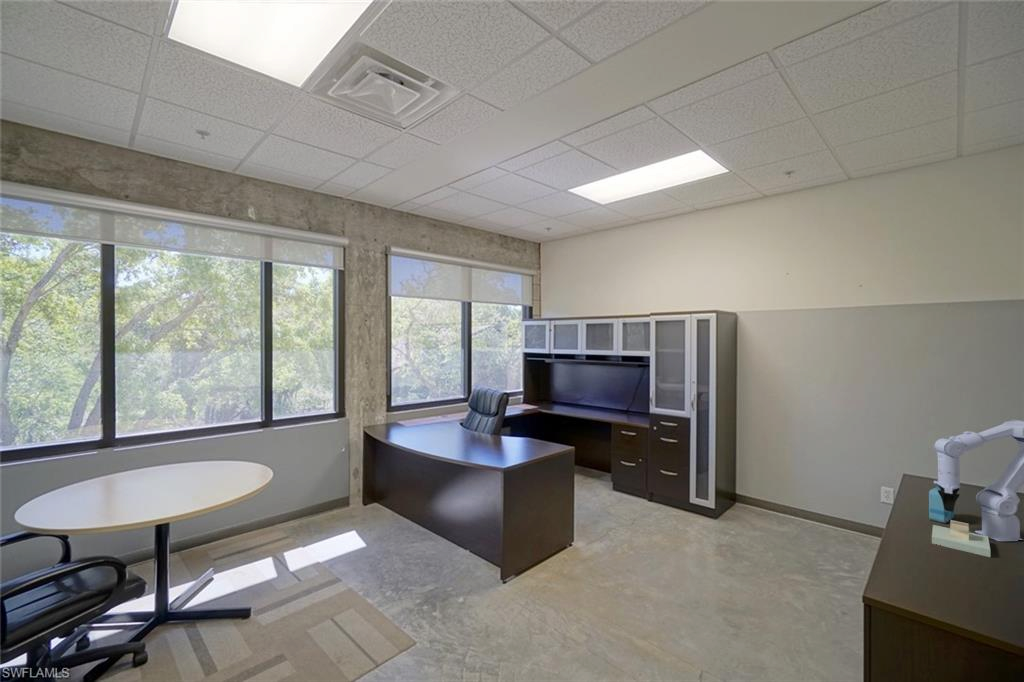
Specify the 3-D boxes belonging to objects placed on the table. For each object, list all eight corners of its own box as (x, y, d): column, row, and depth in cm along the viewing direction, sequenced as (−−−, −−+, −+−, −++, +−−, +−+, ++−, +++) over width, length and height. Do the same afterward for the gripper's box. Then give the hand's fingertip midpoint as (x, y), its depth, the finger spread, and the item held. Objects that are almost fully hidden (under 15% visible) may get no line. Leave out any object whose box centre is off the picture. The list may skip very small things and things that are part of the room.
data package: (944, 524, 170) (944, 493, 170) (929, 520, 174) (928, 490, 174) (954, 517, 176) (954, 488, 176) (939, 514, 180) (939, 485, 180)
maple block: (950, 532, 157) (950, 520, 157) (968, 536, 154) (968, 523, 154) (950, 536, 154) (950, 523, 154) (968, 540, 151) (968, 527, 151)
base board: (933, 531, 164) (933, 524, 164) (988, 543, 154) (988, 536, 154) (931, 543, 154) (931, 536, 154) (990, 557, 144) (990, 549, 144)
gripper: (934, 465, 170) (934, 500, 170) (933, 473, 160) (933, 510, 160) (960, 469, 165) (960, 505, 165) (960, 477, 155) (960, 515, 155)
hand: (948, 508), depth 162 cm, fingers open, 7 cm apart
